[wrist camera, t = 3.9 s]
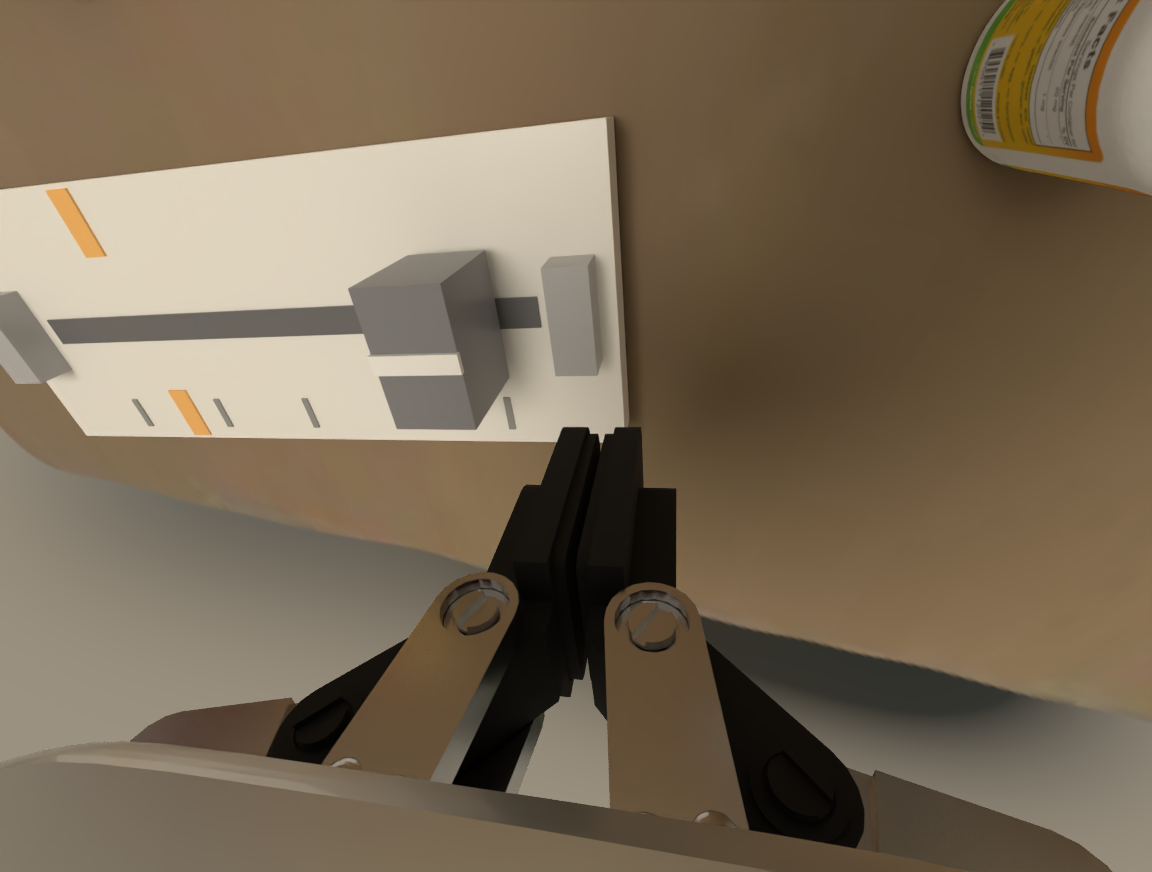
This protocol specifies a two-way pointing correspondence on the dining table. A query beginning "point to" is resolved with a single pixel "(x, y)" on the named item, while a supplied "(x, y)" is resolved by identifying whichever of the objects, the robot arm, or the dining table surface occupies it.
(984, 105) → the supplement bottle
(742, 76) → the dining table surface
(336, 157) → the console board
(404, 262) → the fader knob
